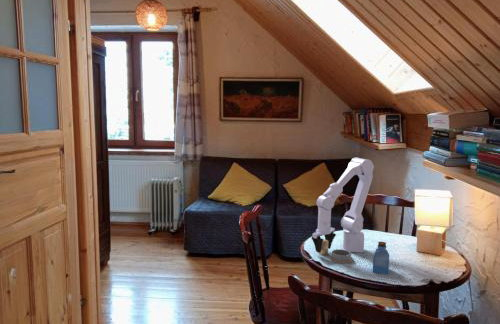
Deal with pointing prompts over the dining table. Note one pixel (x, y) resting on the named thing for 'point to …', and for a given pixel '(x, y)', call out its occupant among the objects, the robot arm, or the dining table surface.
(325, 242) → the wooden peg
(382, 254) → the blue corked bottle
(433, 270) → the dining table surface
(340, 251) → the bottle holder
